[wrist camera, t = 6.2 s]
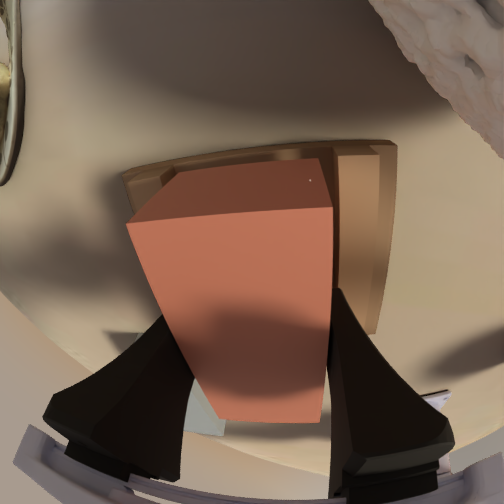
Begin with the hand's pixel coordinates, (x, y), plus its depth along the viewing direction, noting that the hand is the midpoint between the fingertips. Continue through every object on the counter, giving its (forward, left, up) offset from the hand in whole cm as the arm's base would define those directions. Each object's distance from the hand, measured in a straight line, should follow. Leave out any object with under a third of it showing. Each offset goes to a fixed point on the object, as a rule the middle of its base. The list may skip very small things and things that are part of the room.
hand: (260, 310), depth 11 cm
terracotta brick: (0, 0, -2) cm, 2 cm away
